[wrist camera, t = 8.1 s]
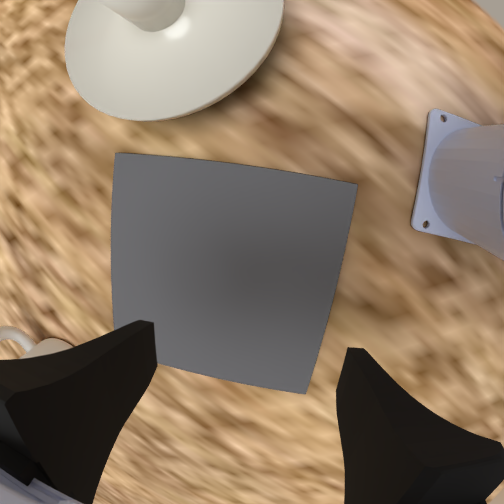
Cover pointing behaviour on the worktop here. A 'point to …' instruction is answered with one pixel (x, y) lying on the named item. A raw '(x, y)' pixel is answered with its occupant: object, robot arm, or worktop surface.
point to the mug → (29, 345)
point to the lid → (166, 53)
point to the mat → (228, 264)
